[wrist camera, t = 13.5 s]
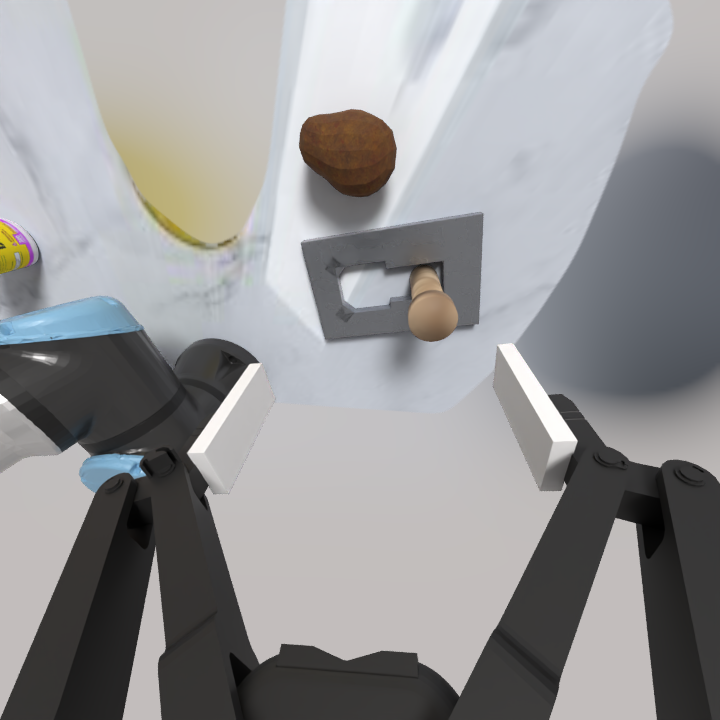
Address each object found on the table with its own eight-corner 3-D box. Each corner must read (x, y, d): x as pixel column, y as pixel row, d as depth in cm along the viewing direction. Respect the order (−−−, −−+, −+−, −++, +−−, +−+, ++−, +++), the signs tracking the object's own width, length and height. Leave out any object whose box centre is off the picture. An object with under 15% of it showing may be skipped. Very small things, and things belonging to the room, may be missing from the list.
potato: (310, 107, 33) (288, 94, 26) (402, 120, 32) (403, 110, 26) (308, 186, 37) (289, 192, 30) (390, 198, 36) (388, 206, 30)
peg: (406, 297, 43) (410, 343, 32) (403, 262, 40) (406, 300, 29) (442, 293, 42) (458, 339, 31) (441, 257, 40) (458, 294, 29)
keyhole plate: (327, 334, 47) (325, 339, 46) (303, 240, 40) (300, 242, 39) (476, 319, 44) (478, 323, 42) (480, 211, 36) (483, 213, 35)
